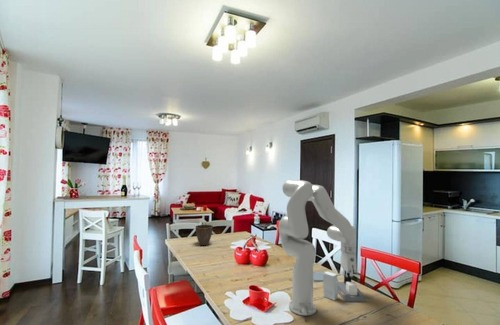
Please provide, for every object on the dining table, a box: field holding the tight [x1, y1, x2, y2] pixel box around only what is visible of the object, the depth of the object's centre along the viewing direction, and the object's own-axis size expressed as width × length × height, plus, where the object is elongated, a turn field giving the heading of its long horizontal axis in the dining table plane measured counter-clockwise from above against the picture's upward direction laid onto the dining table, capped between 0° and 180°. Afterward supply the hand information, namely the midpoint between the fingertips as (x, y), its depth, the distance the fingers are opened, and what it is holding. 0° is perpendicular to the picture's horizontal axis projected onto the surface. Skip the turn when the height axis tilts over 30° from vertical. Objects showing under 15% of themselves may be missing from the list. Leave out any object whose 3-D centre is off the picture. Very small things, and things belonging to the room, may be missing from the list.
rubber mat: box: [313, 271, 326, 283], centre depth 155 cm, size 12×12×1 cm
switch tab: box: [346, 281, 358, 295], centre depth 130 cm, size 4×4×5 cm
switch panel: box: [337, 279, 366, 303], centre depth 135 cm, size 18×10×4 cm, turn 2°
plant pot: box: [195, 224, 214, 246], centre depth 219 cm, size 15×15×16 cm
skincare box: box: [322, 270, 339, 301], centre depth 130 cm, size 6×4×12 cm
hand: (347, 284), depth 134 cm, fingers closed
